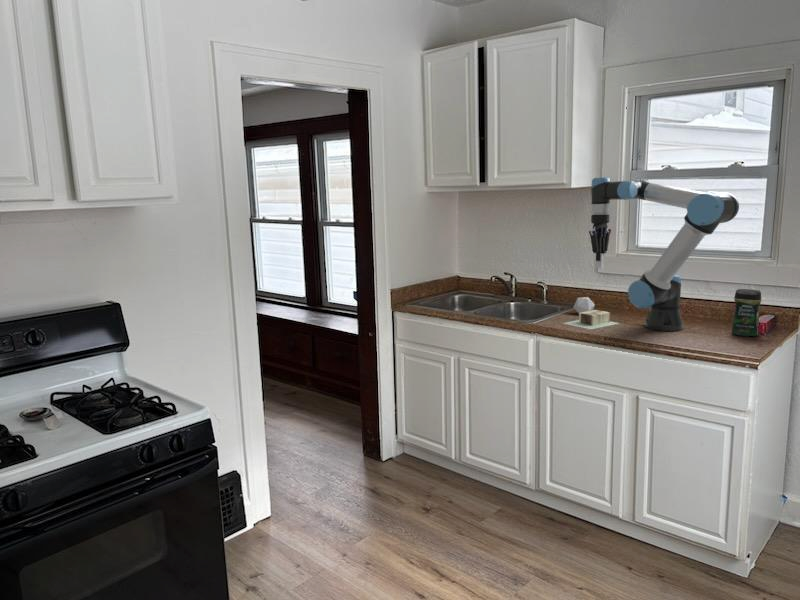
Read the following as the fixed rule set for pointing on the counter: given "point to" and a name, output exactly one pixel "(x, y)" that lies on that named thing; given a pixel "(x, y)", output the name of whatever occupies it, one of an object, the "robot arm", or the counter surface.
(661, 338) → the counter surface
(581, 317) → the maple slab
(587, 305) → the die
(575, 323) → the mat
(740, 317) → the coffee jar
